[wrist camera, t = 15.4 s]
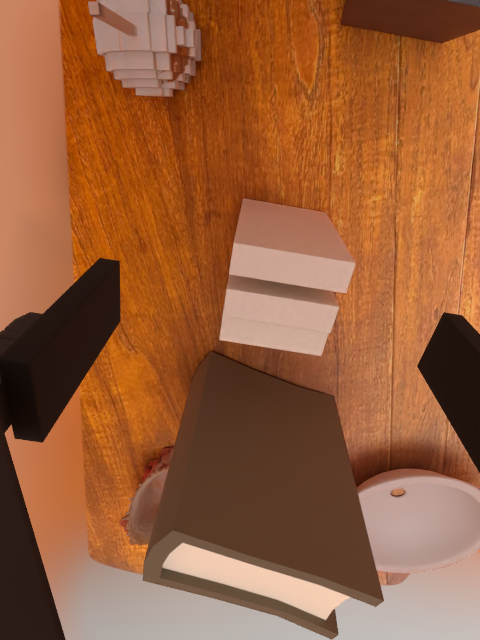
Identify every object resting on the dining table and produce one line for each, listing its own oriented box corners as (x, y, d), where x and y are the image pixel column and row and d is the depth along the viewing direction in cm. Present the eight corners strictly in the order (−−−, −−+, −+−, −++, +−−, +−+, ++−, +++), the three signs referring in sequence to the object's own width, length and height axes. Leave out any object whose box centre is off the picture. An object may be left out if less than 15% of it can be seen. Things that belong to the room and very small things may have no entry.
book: (186, 391, 53) (133, 585, 32) (206, 347, 49) (162, 534, 28) (305, 434, 56) (331, 639, 35) (334, 396, 52) (384, 600, 31)
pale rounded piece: (203, 97, 35) (169, 91, 22) (122, 96, 36) (42, 90, 23) (200, -10, 32) (157, -92, 19) (109, -11, 32) (3, -92, 19)
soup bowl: (502, 498, 61) (527, 538, 55) (375, 549, 70) (385, 588, 64) (426, 414, 53) (445, 452, 48) (294, 484, 62) (297, 522, 56)
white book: (243, 198, 40) (233, 242, 27) (326, 212, 40) (356, 263, 27) (239, 221, 41) (228, 274, 28) (320, 234, 41) (346, 293, 28)
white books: (237, 233, 42) (226, 288, 29) (316, 247, 42) (339, 307, 29) (229, 284, 45) (216, 353, 32) (303, 296, 45) (319, 369, 32)
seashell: (196, 510, 70) (251, 477, 63) (188, 576, 61) (251, 545, 55) (118, 472, 64) (170, 431, 57) (96, 539, 55) (155, 499, 48)
